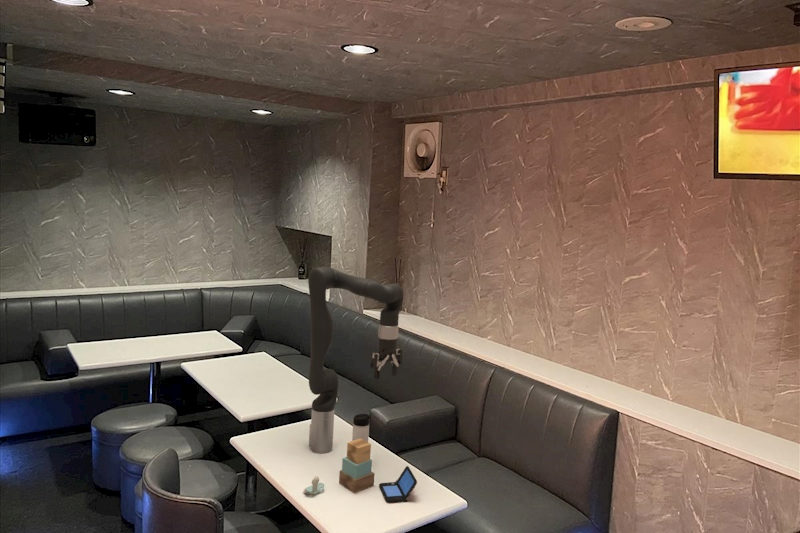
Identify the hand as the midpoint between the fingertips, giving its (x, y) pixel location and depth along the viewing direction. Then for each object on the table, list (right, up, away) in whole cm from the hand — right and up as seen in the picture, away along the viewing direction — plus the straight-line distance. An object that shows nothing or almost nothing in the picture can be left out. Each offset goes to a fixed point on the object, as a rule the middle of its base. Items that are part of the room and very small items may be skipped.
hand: (385, 377), depth 215 cm
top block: (-10, -32, -12) cm, 36 cm away
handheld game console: (+4, -39, -15) cm, 42 cm away
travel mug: (-10, -35, +5) cm, 37 cm away
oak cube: (-10, -27, -12) cm, 31 cm away
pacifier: (-25, -37, -18) cm, 48 cm away
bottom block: (-10, -37, -11) cm, 40 cm away
